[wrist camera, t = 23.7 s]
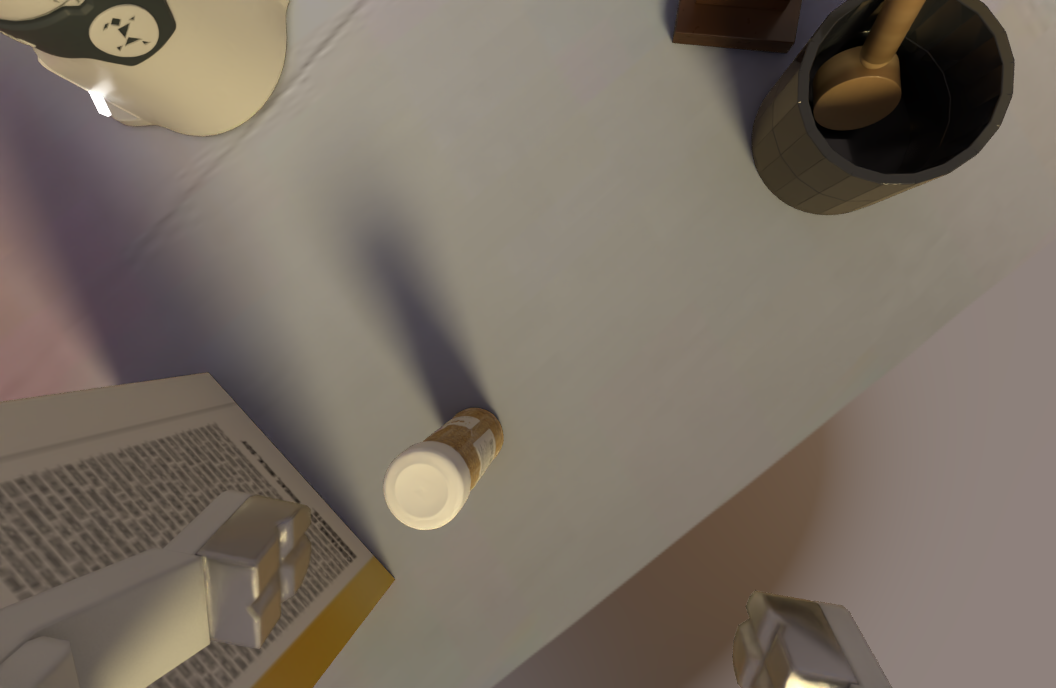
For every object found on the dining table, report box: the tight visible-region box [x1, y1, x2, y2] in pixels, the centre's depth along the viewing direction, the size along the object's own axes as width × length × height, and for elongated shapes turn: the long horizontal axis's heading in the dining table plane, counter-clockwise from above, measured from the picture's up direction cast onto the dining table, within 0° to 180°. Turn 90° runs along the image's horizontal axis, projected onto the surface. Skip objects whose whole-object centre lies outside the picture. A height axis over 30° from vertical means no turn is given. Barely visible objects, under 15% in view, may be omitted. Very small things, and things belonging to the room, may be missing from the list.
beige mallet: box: [813, 0, 926, 130], centre depth 29 cm, size 17×5×2 cm
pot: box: [752, 0, 1015, 215], centre depth 34 cm, size 11×11×9 cm
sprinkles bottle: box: [383, 408, 503, 530], centre depth 36 cm, size 5×5×13 cm
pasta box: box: [0, 372, 395, 688], centre depth 30 cm, size 23×8×30 cm, turn 44°
